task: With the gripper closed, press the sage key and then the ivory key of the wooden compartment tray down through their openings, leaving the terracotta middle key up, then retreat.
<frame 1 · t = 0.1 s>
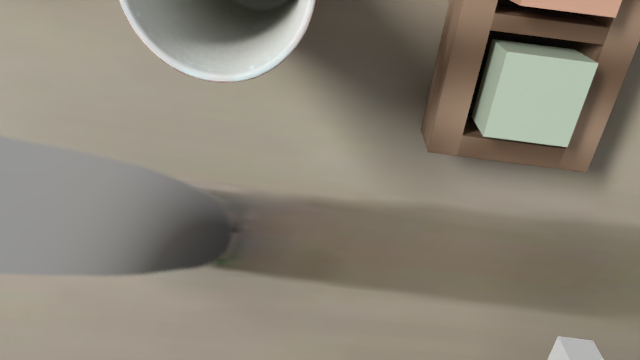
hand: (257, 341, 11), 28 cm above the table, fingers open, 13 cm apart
key sage: (529, 92, 32), point 4 cm above the table, slide at 0.0 cm
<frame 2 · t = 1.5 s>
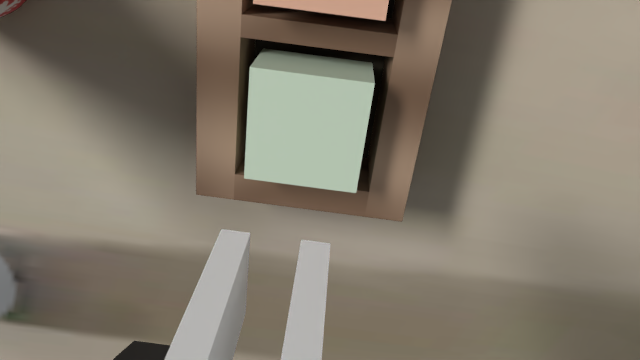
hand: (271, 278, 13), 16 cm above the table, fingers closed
key sage: (309, 119, 24), point 4 cm above the table, slide at 0.0 cm
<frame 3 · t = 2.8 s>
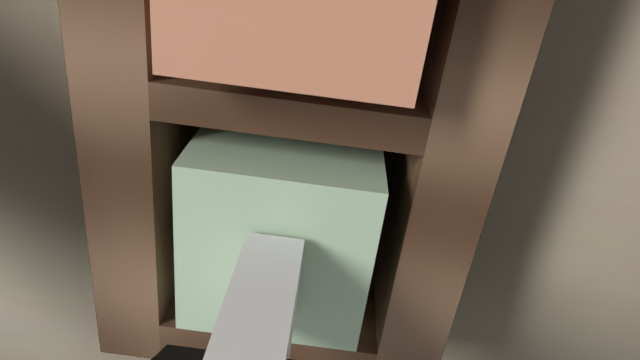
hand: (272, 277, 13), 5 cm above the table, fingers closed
key sage: (281, 230, 15), point 3 cm above the table, slide at -1.0 cm, touching gripper
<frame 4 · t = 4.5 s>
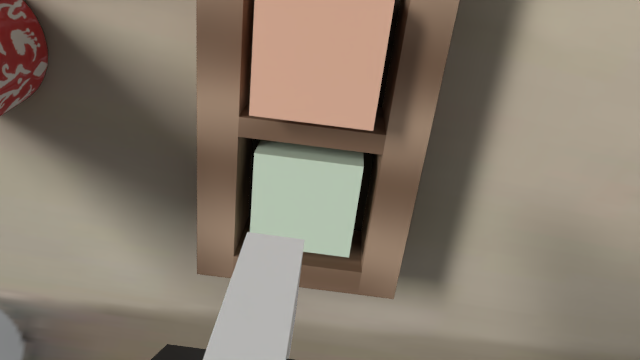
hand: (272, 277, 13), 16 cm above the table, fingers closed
key sage: (306, 191, 27), point 2 cm above the table, slide at -1.9 cm
key terracotta: (320, 51, 22), point 4 cm above the table, slide at 0.0 cm
wooden compartment tray: (325, 34, 26), on the table
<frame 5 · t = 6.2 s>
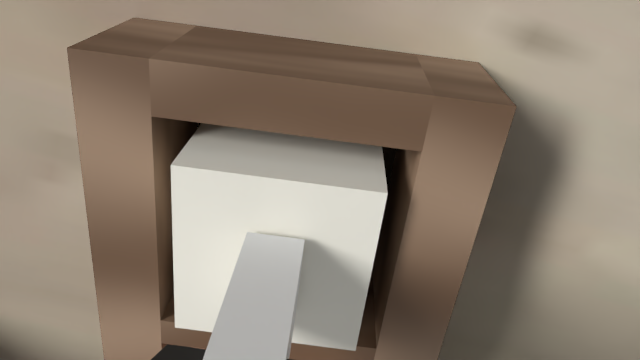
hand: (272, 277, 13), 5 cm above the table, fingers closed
wooden compartment tray: (276, 339, 22), on the table
key ivory: (280, 230, 15), point 3 cm above the table, slide at -0.8 cm, touching gripper
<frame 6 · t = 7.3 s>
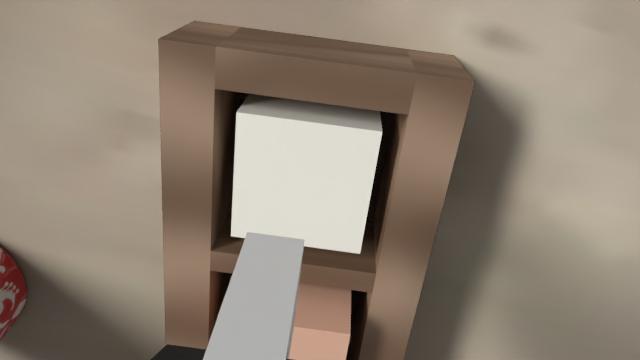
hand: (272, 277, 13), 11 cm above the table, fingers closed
key terracotta: (284, 343, 23), point 4 cm above the table, slide at 0.0 cm
wooden compartment tray: (294, 285, 27), on the table
key ivory: (306, 168, 21), point 2 cm above the table, slide at -1.9 cm
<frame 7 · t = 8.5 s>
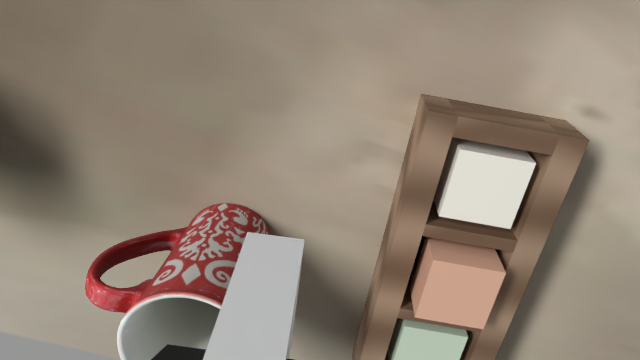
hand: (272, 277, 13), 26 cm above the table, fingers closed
key sage: (425, 340, 44), point 2 cm above the table, slide at -1.9 cm
key terracotta: (454, 281, 39), point 4 cm above the table, slide at 0.0 cm
wooden compartment tray: (445, 251, 43), on the table
mug: (213, 229, 44), on the table
key ivory: (480, 179, 38), point 2 cm above the table, slide at -1.9 cm
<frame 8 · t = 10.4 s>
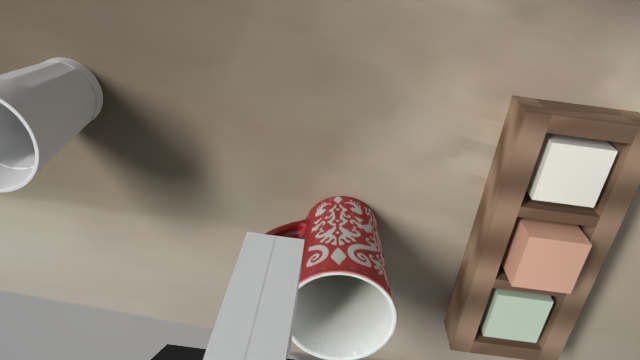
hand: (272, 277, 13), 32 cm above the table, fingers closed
key sage: (512, 307, 51), point 2 cm above the table, slide at -1.9 cm
key terracotta: (543, 254, 46), point 4 cm above the table, slide at 0.0 cm
cup: (69, 91, 46), on the table
wooden compartment tray: (529, 229, 50), on the table
mug: (326, 218, 51), on the table
key ivory: (565, 166, 44), point 2 cm above the table, slide at -1.9 cm
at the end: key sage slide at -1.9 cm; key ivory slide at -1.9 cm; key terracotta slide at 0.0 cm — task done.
